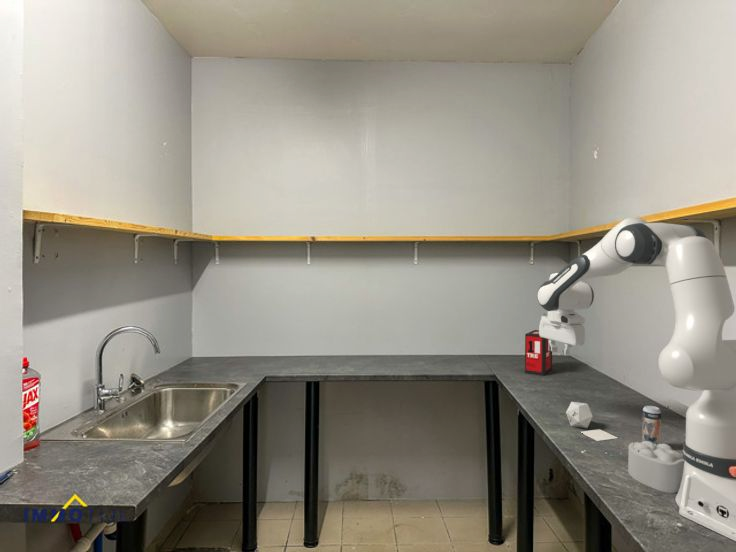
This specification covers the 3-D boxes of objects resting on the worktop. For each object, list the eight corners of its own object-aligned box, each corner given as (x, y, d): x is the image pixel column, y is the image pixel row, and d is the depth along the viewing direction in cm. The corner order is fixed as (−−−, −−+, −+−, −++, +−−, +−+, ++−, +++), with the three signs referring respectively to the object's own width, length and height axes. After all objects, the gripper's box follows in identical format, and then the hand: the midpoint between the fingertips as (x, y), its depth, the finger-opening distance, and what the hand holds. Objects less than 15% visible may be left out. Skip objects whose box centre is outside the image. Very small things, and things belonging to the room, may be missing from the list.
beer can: (640, 446, 135) (640, 407, 134) (644, 441, 138) (644, 404, 138) (658, 450, 131) (659, 411, 131) (662, 446, 135) (663, 407, 134)
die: (560, 422, 156) (560, 406, 151) (577, 408, 158) (577, 392, 153) (581, 438, 150) (581, 421, 144) (597, 423, 152) (598, 406, 147)
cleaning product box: (534, 366, 236) (535, 329, 235) (552, 369, 230) (552, 331, 230) (524, 373, 222) (525, 334, 222) (543, 375, 217) (543, 335, 216)
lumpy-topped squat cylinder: (668, 495, 107) (669, 460, 106) (618, 472, 118) (618, 440, 118) (693, 485, 111) (694, 452, 111) (642, 464, 123) (642, 434, 123)
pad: (617, 438, 141) (618, 437, 141) (597, 441, 138) (597, 440, 138) (599, 429, 148) (599, 429, 148) (580, 432, 146) (580, 431, 146)
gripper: (534, 313, 169) (534, 348, 169) (573, 319, 149) (572, 360, 150) (548, 312, 171) (548, 347, 171) (588, 319, 151) (587, 358, 151)
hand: (559, 353), depth 160 cm, fingers open, 5 cm apart
